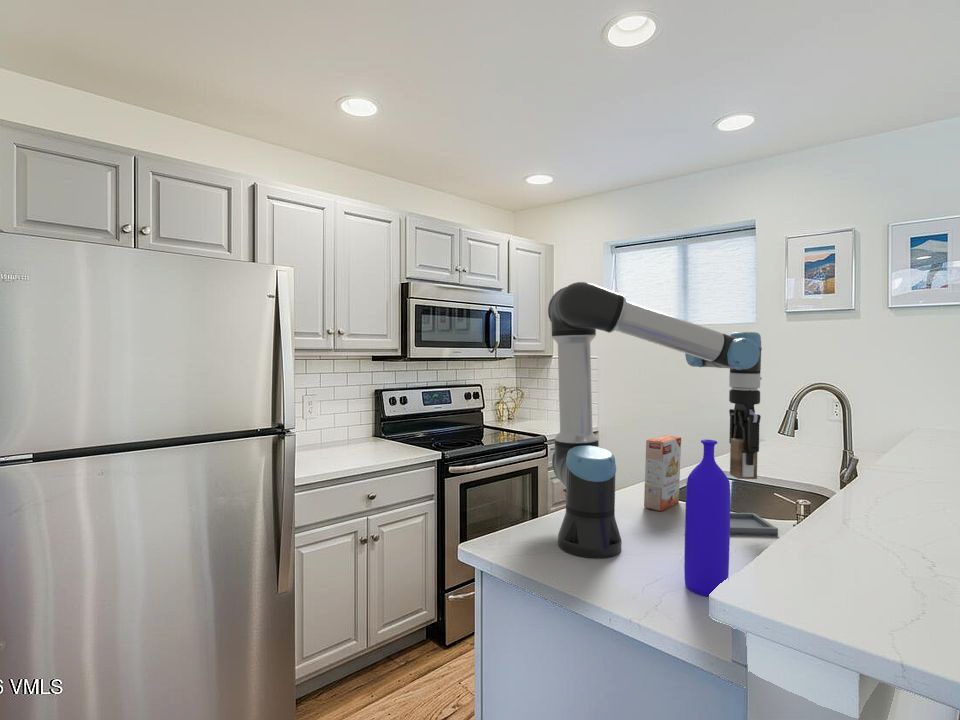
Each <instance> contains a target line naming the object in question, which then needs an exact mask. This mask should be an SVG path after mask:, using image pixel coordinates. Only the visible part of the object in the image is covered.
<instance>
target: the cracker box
mask: <svg viewBox="0 0 960 720" xmlns="http://www.w3.org/2000/svg"><path fill="white" fill-rule="evenodd" d="M645 442H646V443H645V467H644V470H645V471H644V472H645V474H644V494H643V495H644V496H643V498H644V500H643V501H644V502H643V508H644V509H648V510H653V511H657V512H662V511H665V510H666V509H668V508H670V507H672V506H674V505H676V504H678V503H679V502H680V501H679V500H680V482H681V481H680V478H681V455H682V454H681V452H682V437H679V436H676V435H667V434H666V435H664V434H663V435H662V436H658V437H653V438H649V439H646V441H645Z"/></svg>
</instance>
